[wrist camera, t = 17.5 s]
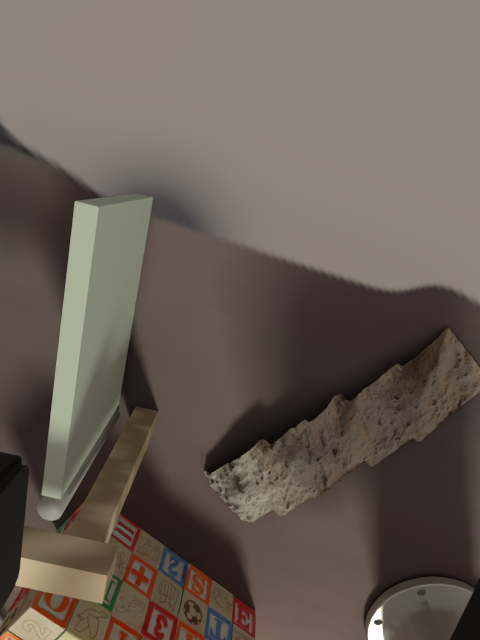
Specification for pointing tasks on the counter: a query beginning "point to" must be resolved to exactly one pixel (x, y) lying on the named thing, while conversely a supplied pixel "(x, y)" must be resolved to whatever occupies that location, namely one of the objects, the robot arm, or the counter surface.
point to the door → (92, 338)
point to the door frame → (88, 525)
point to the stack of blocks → (135, 600)
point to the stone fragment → (350, 432)
